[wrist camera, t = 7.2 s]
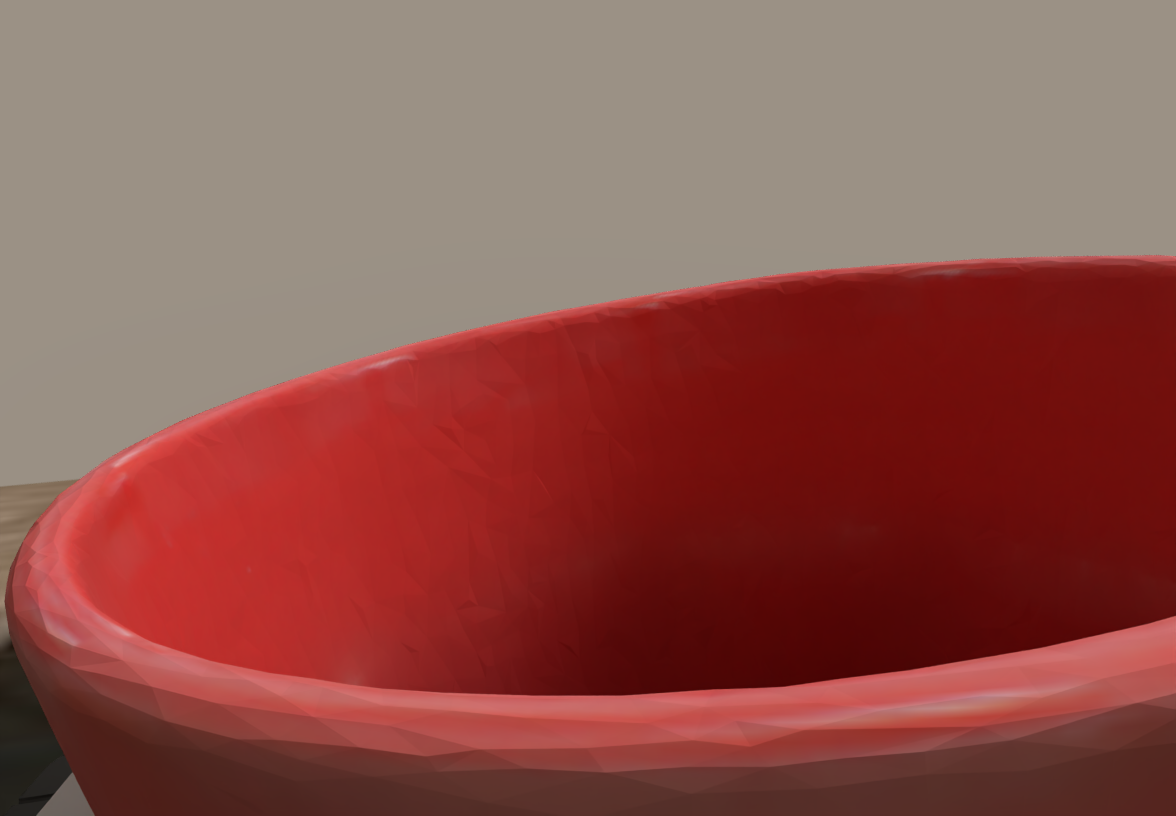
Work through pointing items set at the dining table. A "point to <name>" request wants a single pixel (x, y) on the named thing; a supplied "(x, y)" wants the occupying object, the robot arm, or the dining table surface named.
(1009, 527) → the flower pot
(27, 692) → the dining table surface
